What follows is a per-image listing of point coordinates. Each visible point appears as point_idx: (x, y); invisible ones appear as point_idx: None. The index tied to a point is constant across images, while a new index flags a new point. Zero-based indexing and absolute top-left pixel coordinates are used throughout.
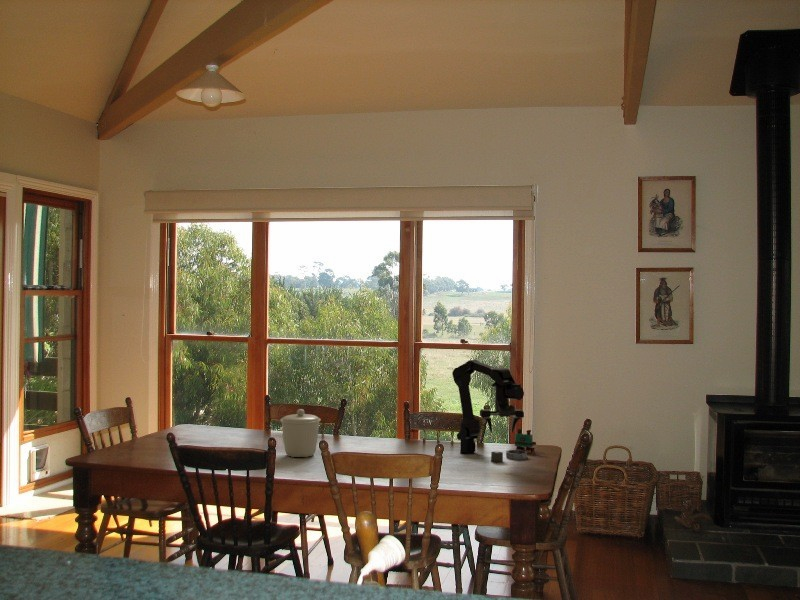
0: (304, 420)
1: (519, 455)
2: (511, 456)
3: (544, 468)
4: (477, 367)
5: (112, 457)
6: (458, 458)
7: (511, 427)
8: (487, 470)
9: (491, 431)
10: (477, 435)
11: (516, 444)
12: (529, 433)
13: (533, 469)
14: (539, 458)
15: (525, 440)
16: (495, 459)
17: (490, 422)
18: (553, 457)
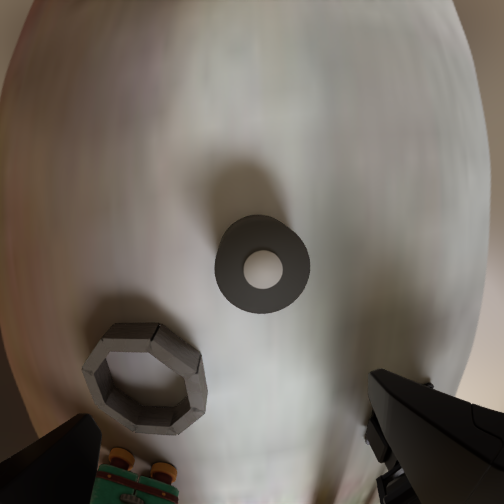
0: None
1: (114, 334)
2: (165, 337)
3: (10, 142)
4: None
5: None
6: (455, 288)
7: (81, 479)
8: (306, 20)
9: (383, 378)
10: (382, 488)
11: (167, 489)
12: None
13: (52, 99)
14: (47, 359)
15: (118, 493)
16: (269, 218)
17: (499, 448)
18: (14, 375)
